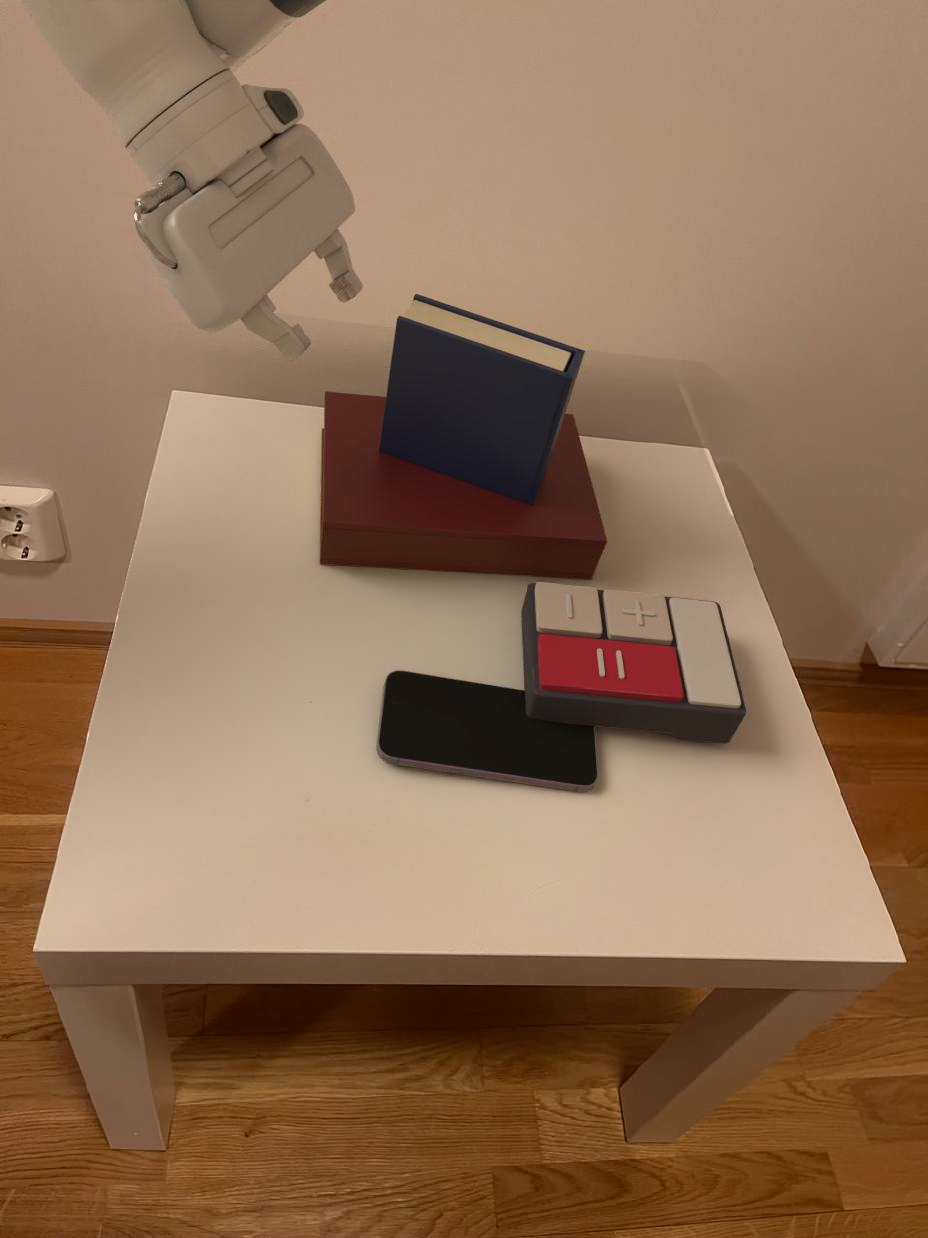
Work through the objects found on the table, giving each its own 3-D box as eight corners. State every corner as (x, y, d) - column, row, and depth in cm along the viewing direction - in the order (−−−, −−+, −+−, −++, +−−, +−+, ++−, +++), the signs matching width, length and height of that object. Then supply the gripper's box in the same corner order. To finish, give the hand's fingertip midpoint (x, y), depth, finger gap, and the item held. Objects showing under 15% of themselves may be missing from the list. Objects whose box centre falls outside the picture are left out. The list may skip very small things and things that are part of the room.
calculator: (529, 573, 68) (723, 594, 69) (519, 613, 71) (705, 632, 72) (534, 687, 60) (752, 708, 62) (523, 726, 64) (731, 745, 65)
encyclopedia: (319, 564, 70) (323, 522, 67) (321, 433, 80) (324, 390, 77) (591, 579, 74) (607, 540, 71) (560, 453, 84) (573, 413, 81)
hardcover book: (532, 505, 72) (573, 378, 63) (378, 451, 73) (396, 318, 64) (545, 476, 75) (585, 350, 66) (396, 424, 76) (415, 292, 67)
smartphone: (599, 790, 60) (375, 756, 58) (594, 798, 61) (373, 765, 59) (593, 700, 65) (386, 666, 63) (588, 709, 66) (384, 676, 64)
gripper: (149, 182, 54) (294, 376, 60) (303, 83, 67) (407, 250, 74) (92, 231, 57) (234, 409, 64) (248, 128, 71) (352, 283, 77)
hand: (328, 323), depth 69 cm, fingers open, 8 cm apart
